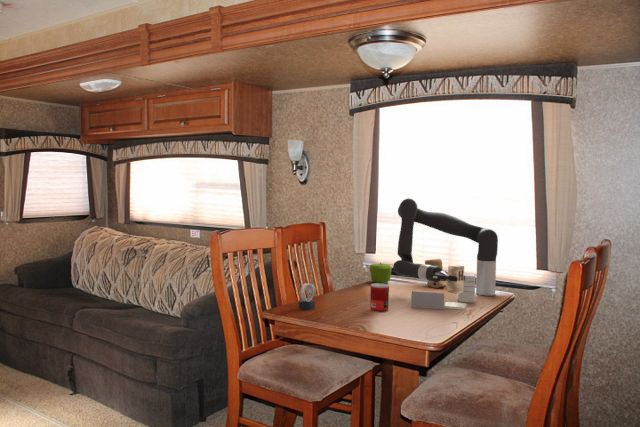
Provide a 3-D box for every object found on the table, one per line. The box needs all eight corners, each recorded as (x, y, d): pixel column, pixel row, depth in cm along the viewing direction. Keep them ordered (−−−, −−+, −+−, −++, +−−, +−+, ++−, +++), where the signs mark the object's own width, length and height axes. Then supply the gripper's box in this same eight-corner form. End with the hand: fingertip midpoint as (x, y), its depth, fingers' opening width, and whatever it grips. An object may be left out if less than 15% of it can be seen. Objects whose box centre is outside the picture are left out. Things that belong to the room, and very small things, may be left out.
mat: (446, 304, 240) (446, 301, 240) (466, 305, 237) (466, 303, 237) (444, 308, 232) (444, 305, 232) (465, 309, 229) (465, 307, 229)
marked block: (447, 292, 235) (448, 265, 234) (453, 290, 238) (454, 264, 237) (457, 294, 230) (458, 267, 230) (463, 292, 234) (464, 266, 233)
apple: (385, 285, 284) (385, 265, 284) (365, 283, 291) (365, 263, 291) (395, 282, 295) (395, 262, 294) (375, 280, 302) (376, 260, 301)
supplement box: (457, 298, 253) (458, 272, 252) (473, 299, 251) (474, 273, 251) (458, 301, 246) (459, 275, 245) (474, 302, 244) (475, 275, 243)
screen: (411, 306, 235) (412, 290, 235) (443, 308, 230) (444, 293, 230) (411, 306, 233) (411, 291, 233) (443, 309, 229) (443, 293, 228)
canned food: (387, 312, 222) (388, 286, 222) (369, 311, 224) (369, 285, 223) (389, 308, 230) (389, 283, 229) (371, 307, 232) (371, 282, 231)
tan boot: (426, 282, 295) (426, 256, 294) (447, 284, 291) (448, 257, 290) (421, 287, 281) (422, 259, 280) (444, 289, 277) (444, 261, 276)
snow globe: (316, 307, 230) (317, 282, 229) (307, 311, 223) (307, 285, 222) (306, 306, 233) (306, 281, 232) (296, 309, 226) (296, 284, 225)
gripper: (420, 266, 240) (451, 271, 227) (439, 264, 249) (470, 268, 236) (420, 282, 240) (450, 288, 227) (439, 279, 250) (469, 285, 237)
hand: (460, 278), depth 232 cm, fingers closed on marked block, 5 cm apart
